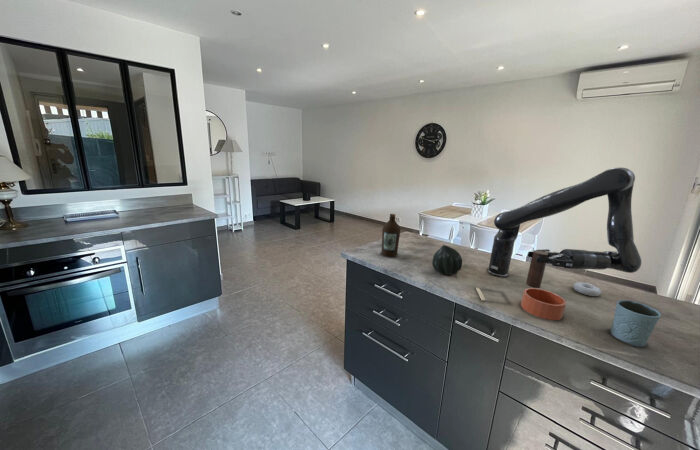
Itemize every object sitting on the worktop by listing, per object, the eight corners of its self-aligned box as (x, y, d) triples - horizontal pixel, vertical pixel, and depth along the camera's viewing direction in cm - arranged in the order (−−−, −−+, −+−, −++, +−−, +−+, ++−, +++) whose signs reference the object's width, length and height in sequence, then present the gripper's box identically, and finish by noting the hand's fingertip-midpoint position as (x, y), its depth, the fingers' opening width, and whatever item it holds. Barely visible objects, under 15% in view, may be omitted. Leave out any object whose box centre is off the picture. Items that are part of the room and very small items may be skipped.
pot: (515, 299, 113) (518, 285, 112) (551, 304, 110) (555, 290, 109) (528, 317, 100) (532, 302, 99) (569, 323, 98) (574, 308, 96)
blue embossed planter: (636, 333, 93) (647, 303, 90) (657, 352, 84) (670, 319, 81) (601, 326, 97) (610, 297, 94) (617, 344, 87) (628, 312, 84)
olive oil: (382, 250, 167) (385, 211, 160) (398, 252, 164) (402, 213, 158) (379, 256, 157) (382, 215, 150) (397, 258, 154) (401, 216, 148)
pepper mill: (523, 281, 108) (531, 249, 105) (537, 283, 107) (544, 251, 104) (528, 287, 104) (536, 253, 100) (542, 288, 103) (550, 255, 99)
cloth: (475, 288, 122) (476, 287, 122) (501, 292, 119) (502, 291, 119) (481, 300, 111) (481, 299, 111) (510, 304, 109) (510, 303, 109)
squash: (473, 267, 132) (459, 240, 138) (450, 272, 126) (438, 244, 131) (454, 275, 144) (443, 250, 149) (433, 281, 137) (422, 254, 143)
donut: (599, 292, 124) (571, 284, 130) (601, 285, 123) (573, 278, 129) (600, 300, 116) (571, 292, 122) (603, 293, 115) (574, 285, 121)
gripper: (566, 244, 108) (523, 241, 109) (596, 257, 94) (547, 254, 95) (561, 261, 110) (519, 258, 110) (590, 276, 96) (542, 273, 97)
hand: (532, 256), depth 103 cm, fingers closed on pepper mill, 5 cm apart
